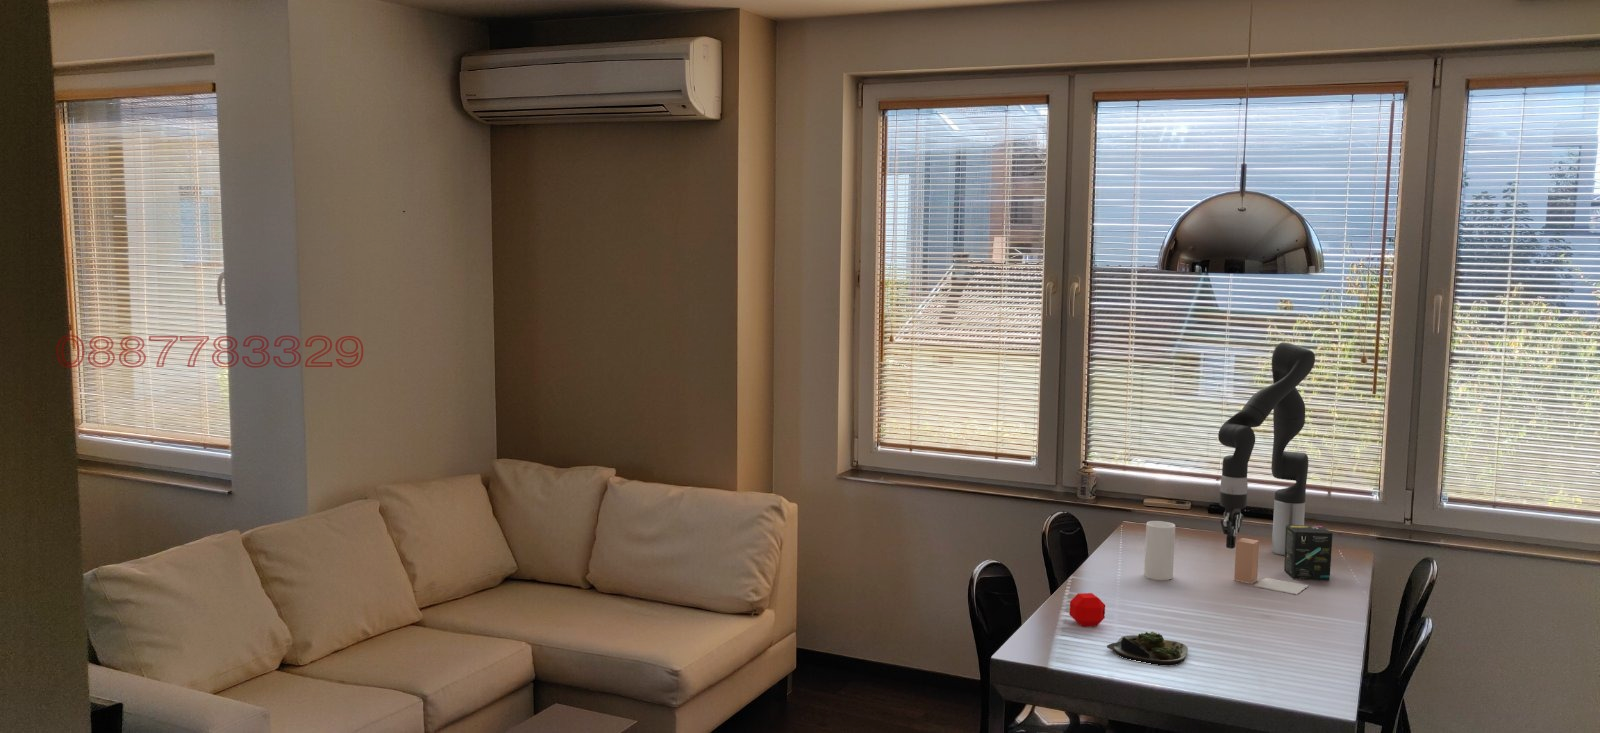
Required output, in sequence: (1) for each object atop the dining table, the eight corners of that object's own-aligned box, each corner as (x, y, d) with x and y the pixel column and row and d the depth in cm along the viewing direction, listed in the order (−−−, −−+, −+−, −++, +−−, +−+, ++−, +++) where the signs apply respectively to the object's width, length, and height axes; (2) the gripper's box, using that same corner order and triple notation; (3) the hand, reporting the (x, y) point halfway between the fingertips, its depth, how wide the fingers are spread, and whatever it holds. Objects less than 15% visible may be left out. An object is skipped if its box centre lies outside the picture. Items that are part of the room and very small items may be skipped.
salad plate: (1121, 634, 288) (1121, 616, 288) (1194, 646, 280) (1195, 628, 279) (1102, 657, 271) (1103, 638, 271) (1180, 671, 263) (1181, 652, 262)
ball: (1107, 628, 291) (1109, 599, 290) (1078, 629, 290) (1079, 600, 289) (1094, 618, 299) (1095, 590, 298) (1066, 619, 298) (1067, 591, 297)
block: (1240, 577, 341) (1242, 537, 339) (1257, 580, 337) (1259, 540, 336) (1234, 580, 337) (1236, 540, 336) (1251, 583, 334) (1253, 543, 332)
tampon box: (1319, 572, 347) (1322, 525, 346) (1330, 580, 338) (1333, 532, 337) (1282, 570, 348) (1285, 524, 347) (1292, 579, 339) (1295, 531, 338)
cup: (1142, 578, 338) (1145, 525, 336) (1145, 571, 345) (1147, 519, 344) (1171, 581, 334) (1174, 528, 333) (1173, 574, 342) (1176, 522, 340)
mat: (1266, 578, 339) (1266, 577, 339) (1308, 586, 331) (1308, 585, 331) (1253, 586, 331) (1253, 585, 331) (1296, 594, 323) (1296, 593, 323)
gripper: (1238, 496, 330) (1235, 554, 332) (1254, 489, 340) (1250, 545, 342) (1212, 492, 335) (1210, 549, 337) (1228, 485, 345) (1226, 541, 347)
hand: (1230, 547), depth 339 cm, fingers closed
